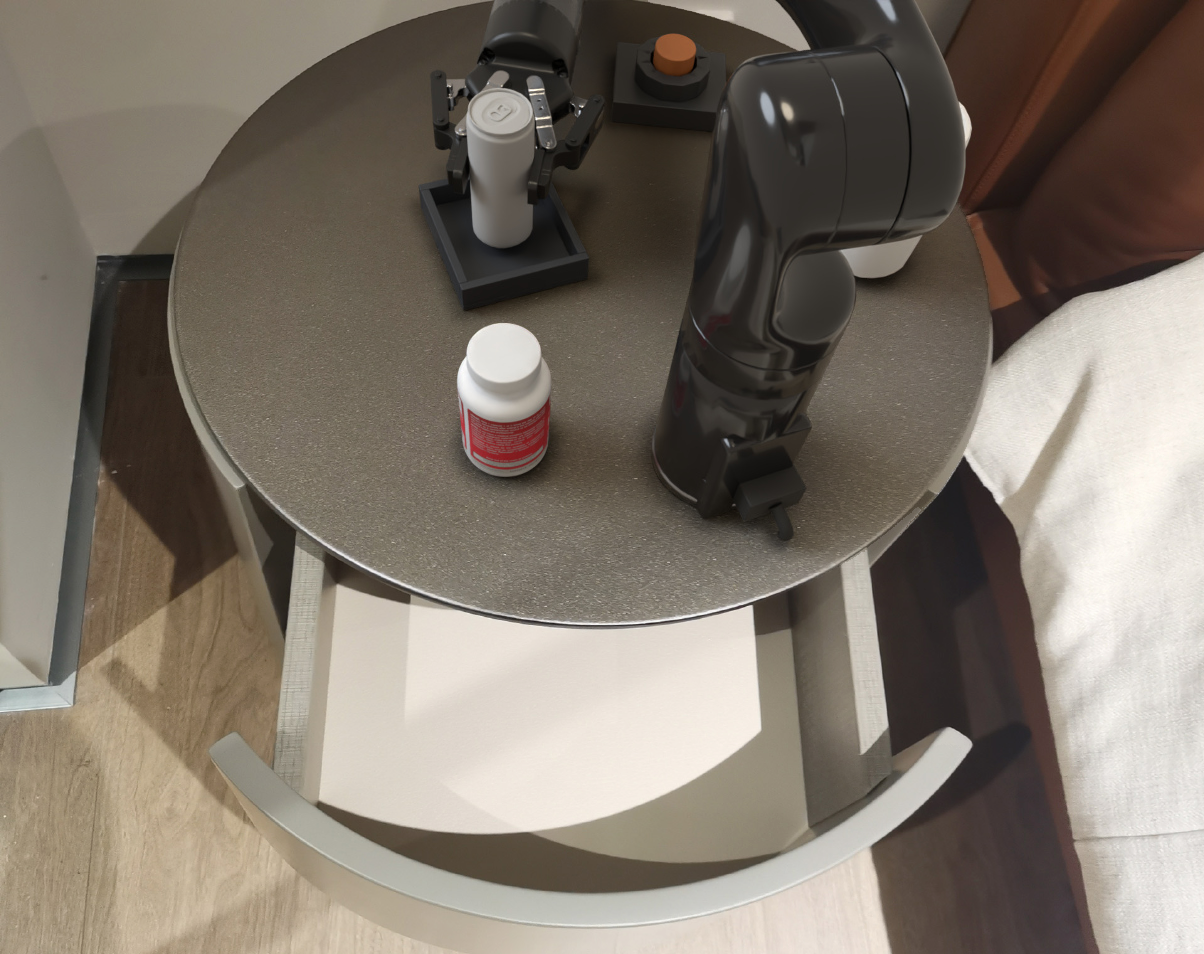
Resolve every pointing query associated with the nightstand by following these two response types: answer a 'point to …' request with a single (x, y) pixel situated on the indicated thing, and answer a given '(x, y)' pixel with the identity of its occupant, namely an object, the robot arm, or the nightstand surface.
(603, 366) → the nightstand surface
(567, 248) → the tray
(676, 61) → the button
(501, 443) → the pill bottle
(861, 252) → the cup
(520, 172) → the beverage can
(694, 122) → the control block
